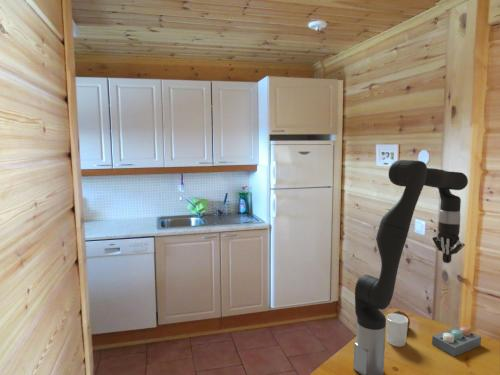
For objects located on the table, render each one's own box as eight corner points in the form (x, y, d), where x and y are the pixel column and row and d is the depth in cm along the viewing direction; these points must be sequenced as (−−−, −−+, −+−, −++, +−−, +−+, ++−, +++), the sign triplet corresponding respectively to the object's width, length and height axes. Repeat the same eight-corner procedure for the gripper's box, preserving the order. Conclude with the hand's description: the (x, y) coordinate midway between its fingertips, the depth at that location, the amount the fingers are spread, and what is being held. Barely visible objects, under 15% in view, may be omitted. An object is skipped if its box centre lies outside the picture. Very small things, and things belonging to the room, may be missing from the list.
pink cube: (466, 342, 136) (466, 332, 136) (456, 337, 140) (457, 327, 139) (472, 339, 138) (473, 330, 138) (462, 335, 141) (463, 325, 141)
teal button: (457, 345, 134) (458, 335, 134) (448, 340, 138) (449, 331, 137) (464, 343, 136) (465, 333, 135) (454, 338, 139) (455, 328, 139)
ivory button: (449, 349, 132) (450, 339, 131) (440, 344, 135) (440, 334, 135) (455, 346, 134) (456, 336, 133) (446, 341, 137) (447, 331, 137)
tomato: (386, 328, 149) (387, 312, 148) (393, 320, 155) (393, 305, 154) (406, 334, 144) (407, 318, 143) (412, 327, 150) (413, 311, 149)
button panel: (454, 356, 129) (454, 347, 129) (431, 344, 137) (432, 335, 137) (480, 345, 136) (481, 336, 136) (458, 334, 144) (458, 326, 144)
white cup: (409, 348, 135) (410, 324, 133) (387, 346, 136) (388, 322, 135) (404, 337, 142) (405, 314, 141) (383, 335, 144) (384, 312, 143)
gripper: (428, 219, 147) (426, 259, 149) (459, 225, 135) (456, 269, 137) (440, 217, 150) (437, 256, 152) (471, 223, 138) (468, 266, 140)
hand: (446, 262), depth 145 cm, fingers closed
